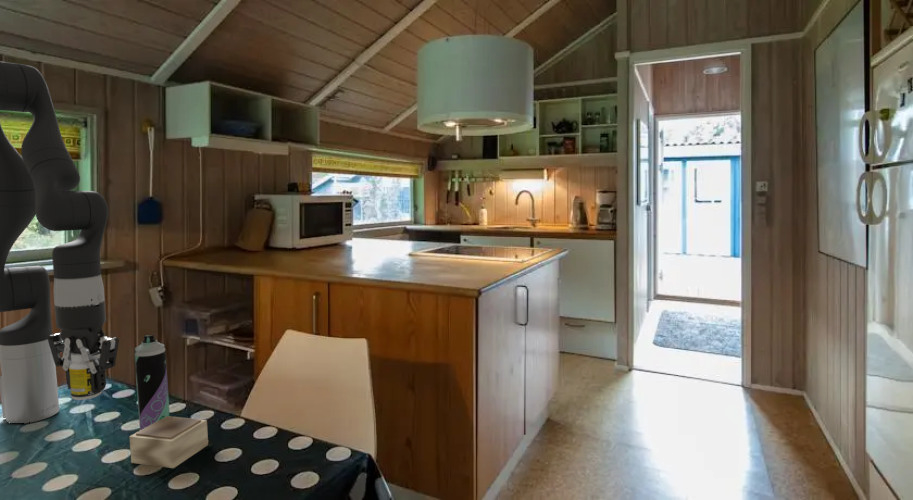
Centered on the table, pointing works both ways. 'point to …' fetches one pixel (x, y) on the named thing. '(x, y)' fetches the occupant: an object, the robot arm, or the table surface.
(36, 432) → the table surface
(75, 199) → the robot arm
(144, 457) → the base block
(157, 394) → the spray can
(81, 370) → the supplement bottle
